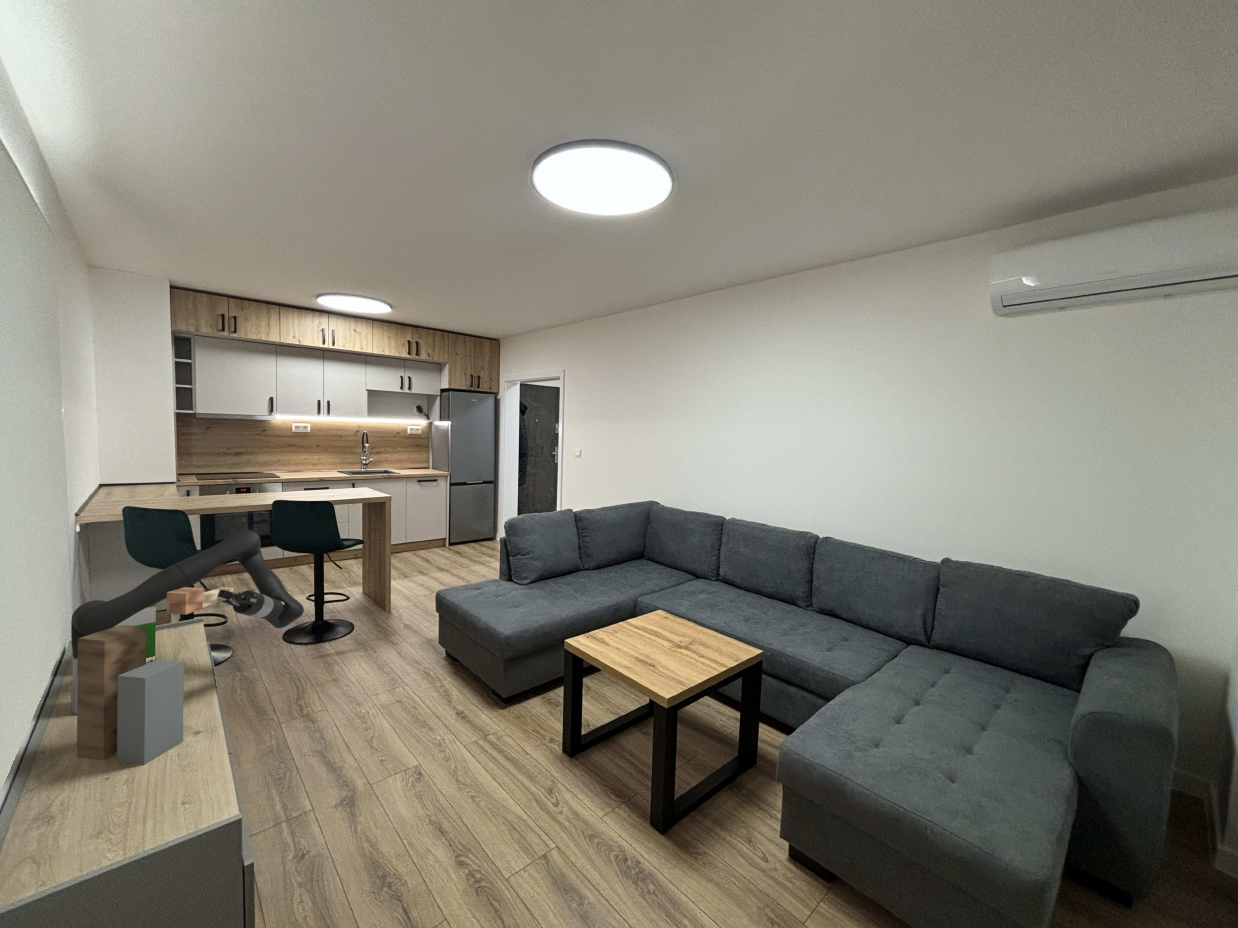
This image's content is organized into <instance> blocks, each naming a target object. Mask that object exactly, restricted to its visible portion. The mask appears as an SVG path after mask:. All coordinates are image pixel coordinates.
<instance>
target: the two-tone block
mask: <svg viewBox="0 0 1238 928" xmlns="http://www.w3.org/2000/svg"><path fill="white" fill-rule="evenodd" d="M221 589H222V590H226V591H230V592H234V587H225V586H221V587H217V588H215V589H213V590H211V591H208V592H204V588H200V587H199V588H197V587H188V588H187V587H184V588H180V589H177V590H173V591H170V592H167V598H166V614H172V615H173V614H174V615H189V614H191V613H195V612H197V611H200V610H203V608H205V607H208V606H211V605H214V604H217V603H218V602H219V603H221V601H224V600H227V599H225V598H221V597H218V593H219V591H220V590H221Z"/></svg>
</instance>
